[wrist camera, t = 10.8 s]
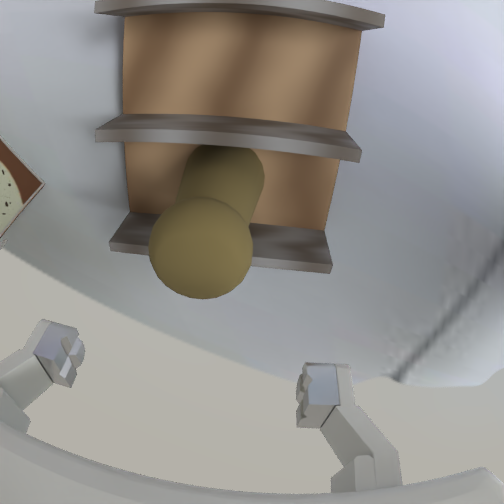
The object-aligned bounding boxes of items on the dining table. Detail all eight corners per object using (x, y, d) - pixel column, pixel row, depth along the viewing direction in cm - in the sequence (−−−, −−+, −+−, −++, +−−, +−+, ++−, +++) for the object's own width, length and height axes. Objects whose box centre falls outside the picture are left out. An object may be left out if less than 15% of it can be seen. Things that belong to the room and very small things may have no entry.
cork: (190, 215, 26) (150, 316, 17) (178, 142, 22) (116, 216, 13) (266, 211, 25) (263, 317, 16) (262, 136, 22) (256, 208, 13)
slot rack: (358, 21, 17) (385, 14, 13) (320, 231, 27) (330, 273, 23) (132, 8, 17) (95, 1, 12) (135, 213, 27) (110, 251, 22)
